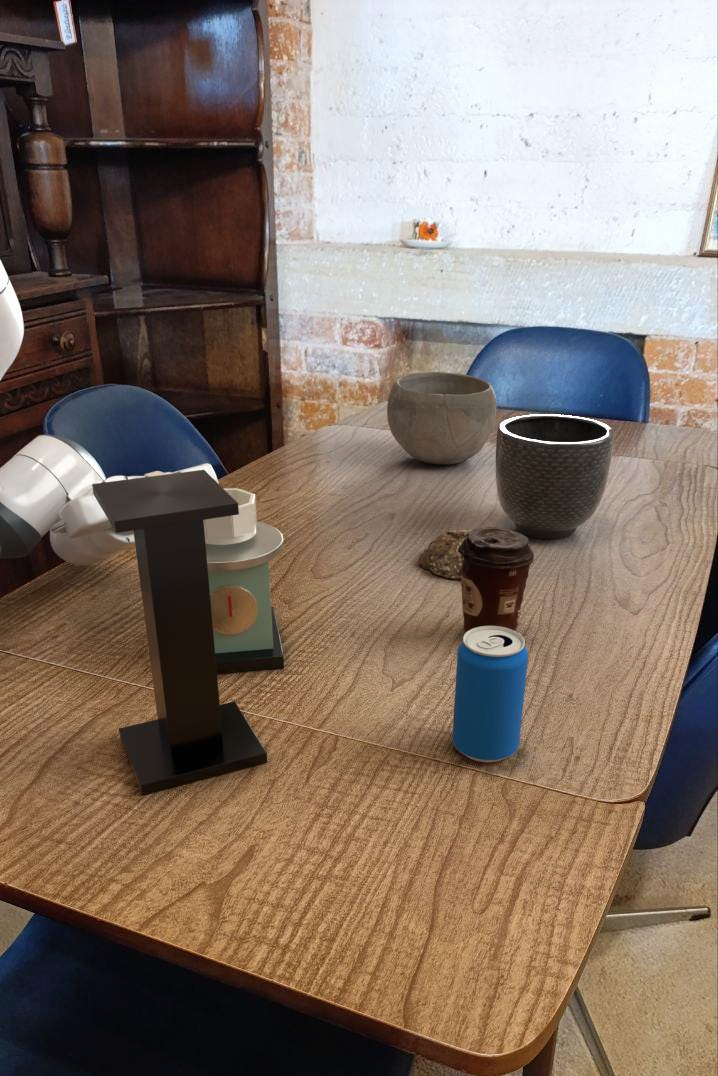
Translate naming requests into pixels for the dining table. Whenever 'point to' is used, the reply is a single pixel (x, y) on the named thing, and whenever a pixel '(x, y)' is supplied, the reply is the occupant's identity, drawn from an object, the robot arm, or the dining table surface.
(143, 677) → the dining table surface
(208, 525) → the handled bowl
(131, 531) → the robot arm
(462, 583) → the coffee cup
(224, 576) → the scale
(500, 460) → the planter
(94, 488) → the shelf stand
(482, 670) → the beverage can
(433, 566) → the brown rock
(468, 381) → the bowl
